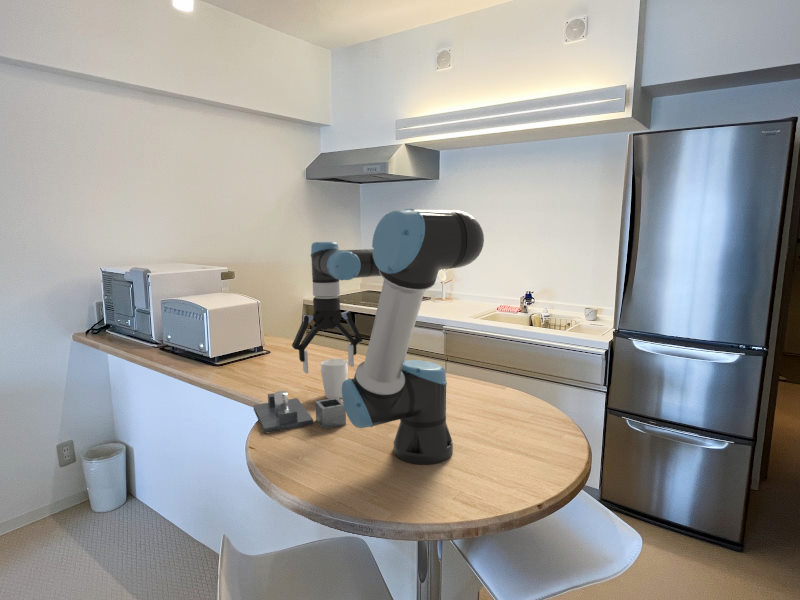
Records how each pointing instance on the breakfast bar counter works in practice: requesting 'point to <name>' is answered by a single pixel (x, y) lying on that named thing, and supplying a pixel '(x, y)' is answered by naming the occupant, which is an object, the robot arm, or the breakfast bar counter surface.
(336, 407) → the grey hollow block
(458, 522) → the breakfast bar counter surface
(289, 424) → the shaft base
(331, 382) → the cup
